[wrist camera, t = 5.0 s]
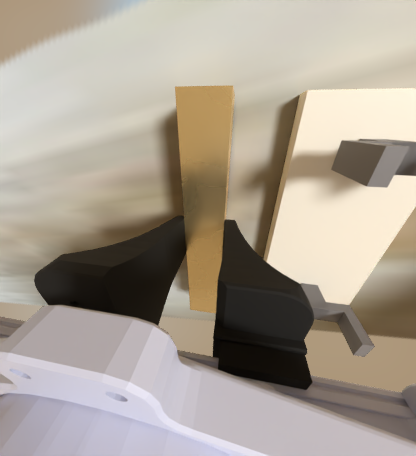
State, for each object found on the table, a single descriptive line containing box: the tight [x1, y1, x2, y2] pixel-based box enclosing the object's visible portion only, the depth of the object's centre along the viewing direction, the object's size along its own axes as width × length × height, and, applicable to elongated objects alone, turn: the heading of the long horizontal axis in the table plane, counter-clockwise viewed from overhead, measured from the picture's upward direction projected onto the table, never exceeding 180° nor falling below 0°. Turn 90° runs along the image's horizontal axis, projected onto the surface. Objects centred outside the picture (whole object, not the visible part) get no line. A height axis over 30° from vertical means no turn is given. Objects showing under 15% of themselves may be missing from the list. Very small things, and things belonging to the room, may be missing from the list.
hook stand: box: [263, 88, 416, 357], centre depth 10 cm, size 7×15×5 cm, turn 0°
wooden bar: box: [175, 86, 235, 313], centre depth 12 cm, size 2×15×2 cm, turn 0°
